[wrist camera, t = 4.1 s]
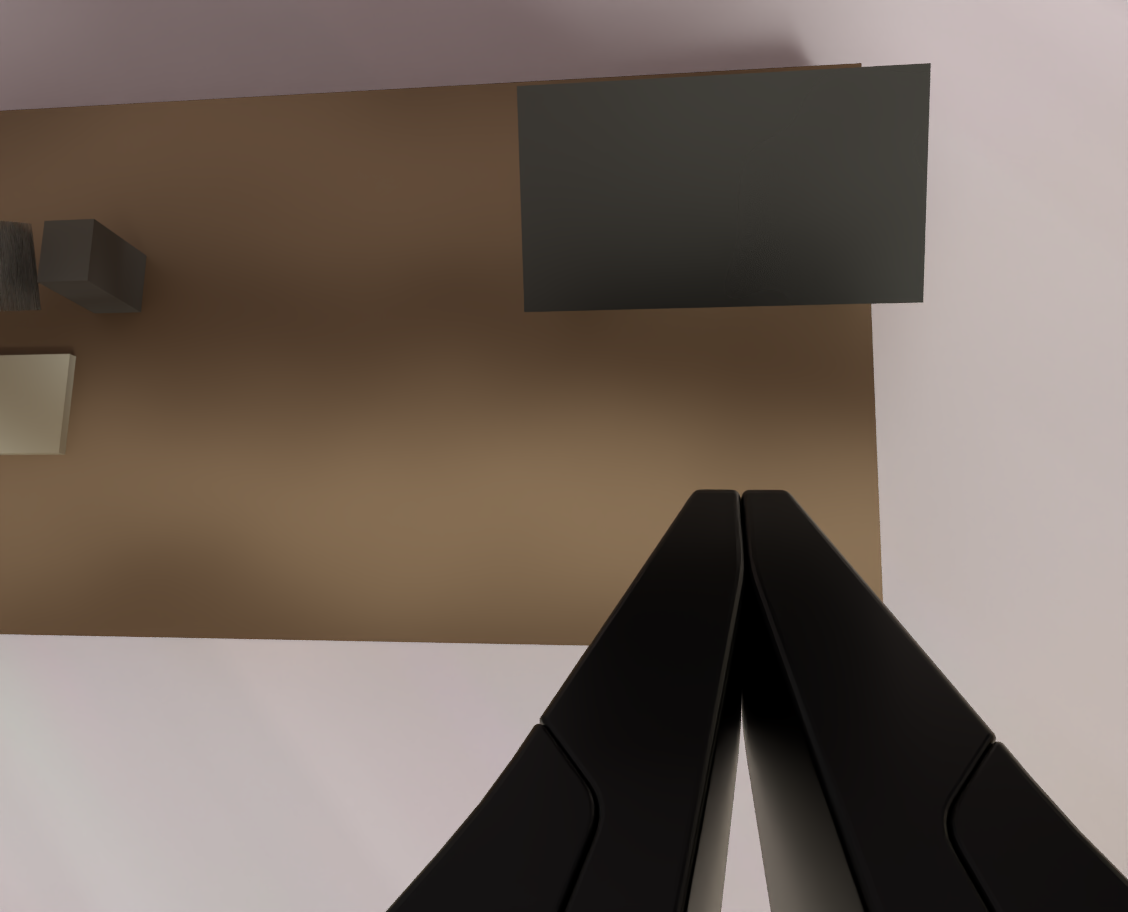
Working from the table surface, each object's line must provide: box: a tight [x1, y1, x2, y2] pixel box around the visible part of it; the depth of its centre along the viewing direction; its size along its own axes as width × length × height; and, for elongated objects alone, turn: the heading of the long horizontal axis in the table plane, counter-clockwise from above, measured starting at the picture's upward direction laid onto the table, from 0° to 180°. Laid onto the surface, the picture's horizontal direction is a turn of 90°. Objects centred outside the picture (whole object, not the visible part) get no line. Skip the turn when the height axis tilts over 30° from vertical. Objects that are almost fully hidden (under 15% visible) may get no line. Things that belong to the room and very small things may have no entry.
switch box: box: [0, 63, 883, 645], centre depth 19 cm, size 11×20×4 cm, turn 89°
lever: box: [517, 63, 931, 312], centre depth 13 cm, size 2×3×9 cm, turn 89°
